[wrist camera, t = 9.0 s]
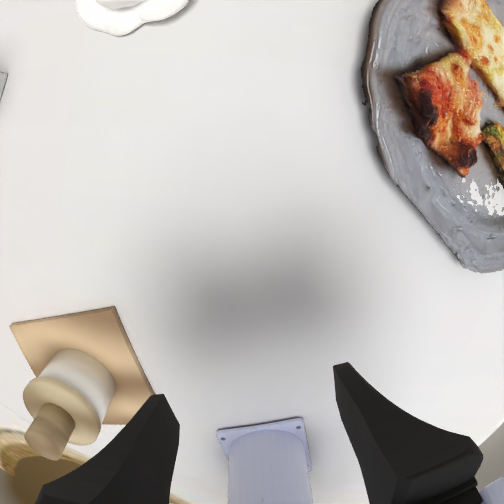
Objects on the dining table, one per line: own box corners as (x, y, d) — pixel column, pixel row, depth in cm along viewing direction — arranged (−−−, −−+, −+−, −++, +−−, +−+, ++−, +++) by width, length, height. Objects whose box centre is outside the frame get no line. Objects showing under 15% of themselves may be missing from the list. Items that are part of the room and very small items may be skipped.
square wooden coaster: (167, 418, 26) (166, 422, 26) (68, 419, 27) (66, 422, 26) (114, 306, 22) (111, 310, 22) (12, 323, 23) (9, 326, 22)
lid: (114, 440, 21) (100, 480, 17) (53, 435, 21) (36, 468, 17) (75, 377, 19) (50, 417, 15) (14, 376, 19) (-12, 408, 15)
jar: (127, 403, 25) (113, 439, 21) (72, 404, 25) (55, 435, 21) (96, 345, 23) (74, 379, 19) (41, 350, 23) (17, 380, 19)
